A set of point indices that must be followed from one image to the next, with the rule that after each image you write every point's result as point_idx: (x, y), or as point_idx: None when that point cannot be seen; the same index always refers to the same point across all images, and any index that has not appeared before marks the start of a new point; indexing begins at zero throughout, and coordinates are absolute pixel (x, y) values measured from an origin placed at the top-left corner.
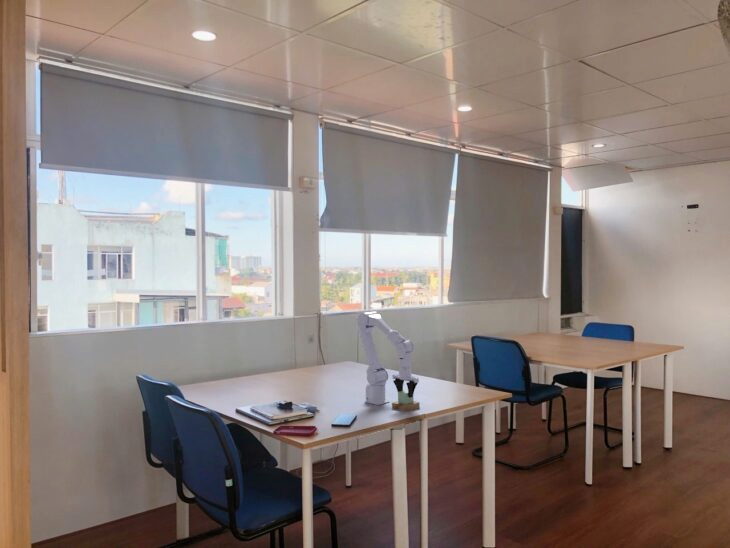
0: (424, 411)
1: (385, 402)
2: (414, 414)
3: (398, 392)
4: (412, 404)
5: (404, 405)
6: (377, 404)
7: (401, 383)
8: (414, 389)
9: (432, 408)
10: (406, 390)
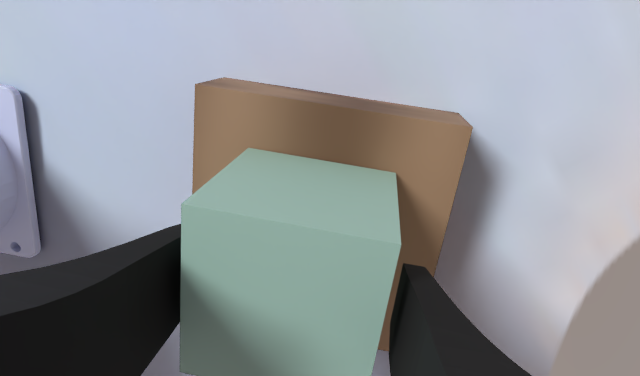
0: (586, 215)
1: (24, 158)
2: (531, 356)
3: (196, 369)
4: (436, 262)
5: (381, 349)
6: (29, 255)
7: (65, 371)
8: (487, 347)
9: (633, 34)
10: (233, 232)
